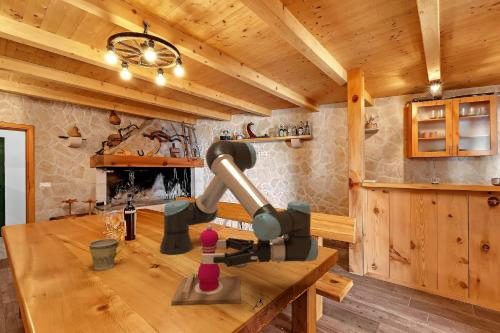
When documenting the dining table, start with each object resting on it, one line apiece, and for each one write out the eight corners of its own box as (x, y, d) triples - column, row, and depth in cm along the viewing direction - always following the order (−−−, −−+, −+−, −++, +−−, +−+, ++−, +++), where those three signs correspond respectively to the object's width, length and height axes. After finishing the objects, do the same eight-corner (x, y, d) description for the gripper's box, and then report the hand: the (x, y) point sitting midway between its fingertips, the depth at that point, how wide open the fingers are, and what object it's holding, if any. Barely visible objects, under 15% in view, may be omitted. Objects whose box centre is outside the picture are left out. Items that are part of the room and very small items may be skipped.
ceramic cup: (87, 274, 90) (87, 247, 90) (90, 264, 99) (90, 240, 99) (126, 267, 96) (126, 242, 96) (126, 259, 105) (126, 236, 105)
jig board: (171, 305, 70) (171, 294, 70) (182, 281, 85) (182, 272, 85) (240, 303, 72) (240, 292, 72) (239, 279, 87) (239, 270, 87)
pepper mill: (199, 281, 82) (199, 222, 82) (220, 281, 82) (220, 222, 82) (196, 292, 75) (196, 227, 75) (219, 292, 75) (220, 227, 75)
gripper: (276, 278, 67) (199, 280, 66) (265, 248, 92) (208, 249, 91) (276, 251, 67) (199, 252, 66) (265, 228, 92) (208, 229, 91)
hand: (204, 251), depth 78 cm, fingers open, 13 cm apart
